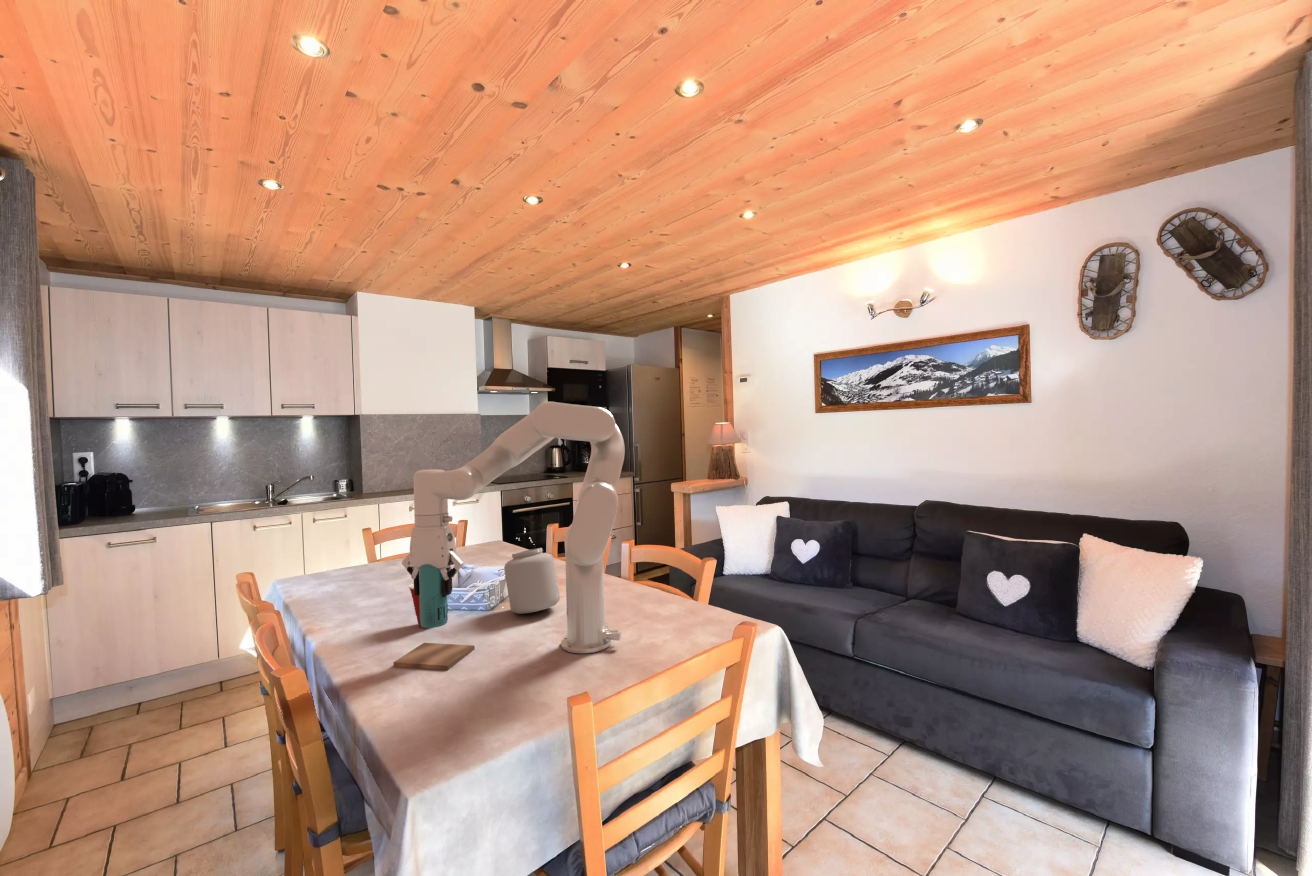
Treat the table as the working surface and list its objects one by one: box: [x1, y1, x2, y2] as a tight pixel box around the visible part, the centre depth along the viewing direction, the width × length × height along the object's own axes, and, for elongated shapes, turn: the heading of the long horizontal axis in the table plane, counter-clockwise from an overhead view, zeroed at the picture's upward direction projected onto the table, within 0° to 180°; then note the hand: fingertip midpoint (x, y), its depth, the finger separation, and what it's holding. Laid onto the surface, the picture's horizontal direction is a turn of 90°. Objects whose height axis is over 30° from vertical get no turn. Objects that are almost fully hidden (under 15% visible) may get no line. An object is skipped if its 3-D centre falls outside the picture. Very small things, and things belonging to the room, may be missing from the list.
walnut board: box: [393, 642, 475, 671], centre depth 135 cm, size 14×12×1 cm
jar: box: [502, 527, 561, 615], centre depth 169 cm, size 19×15×25 cm
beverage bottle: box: [418, 564, 449, 629], centre depth 135 cm, size 6×7×20 cm
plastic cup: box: [407, 582, 425, 629], centre depth 159 cm, size 11×11×12 cm
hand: (433, 593), depth 135 cm, fingers closed on beverage bottle, 6 cm apart
